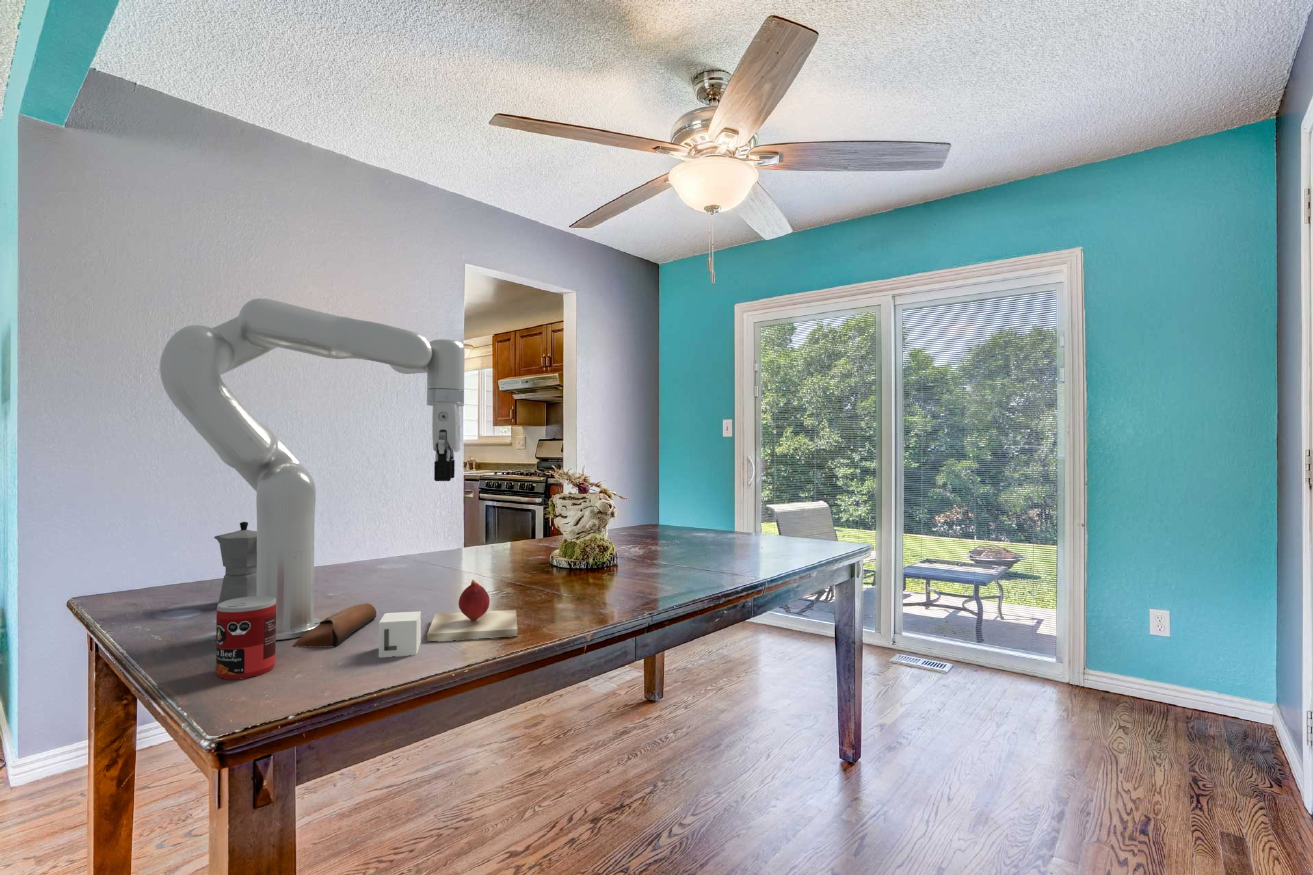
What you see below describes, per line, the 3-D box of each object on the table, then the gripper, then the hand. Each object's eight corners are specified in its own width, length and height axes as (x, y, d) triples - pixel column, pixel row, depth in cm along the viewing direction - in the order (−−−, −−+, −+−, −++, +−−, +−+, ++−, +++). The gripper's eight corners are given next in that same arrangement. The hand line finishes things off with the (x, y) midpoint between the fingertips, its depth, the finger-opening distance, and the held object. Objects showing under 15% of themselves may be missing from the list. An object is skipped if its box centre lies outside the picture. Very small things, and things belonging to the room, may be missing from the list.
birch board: (427, 642, 119) (427, 633, 119) (435, 621, 132) (435, 613, 132) (517, 637, 122) (517, 629, 122) (516, 617, 136) (516, 609, 136)
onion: (494, 618, 130) (495, 577, 130) (480, 626, 124) (481, 584, 124) (467, 616, 131) (468, 576, 131) (452, 623, 125) (453, 582, 125)
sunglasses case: (334, 619, 133) (351, 590, 133) (364, 636, 133) (381, 608, 133) (289, 647, 115) (309, 614, 115) (324, 667, 115) (344, 634, 115)
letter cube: (378, 658, 110) (379, 622, 110) (384, 646, 116) (385, 613, 116) (416, 655, 112) (416, 620, 112) (420, 644, 118) (420, 611, 118)
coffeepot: (198, 607, 141) (199, 524, 141) (229, 597, 150) (230, 518, 150) (267, 609, 140) (268, 525, 140) (294, 598, 150) (295, 519, 150)
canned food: (206, 673, 102) (207, 603, 102) (261, 659, 109) (261, 593, 109) (229, 684, 98) (230, 610, 98) (284, 669, 104) (285, 600, 104)
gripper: (461, 396, 131) (460, 482, 131) (466, 401, 148) (465, 477, 148) (421, 395, 129) (420, 482, 129) (431, 400, 146) (430, 477, 146)
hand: (444, 479), depth 139 cm, fingers open, 9 cm apart
